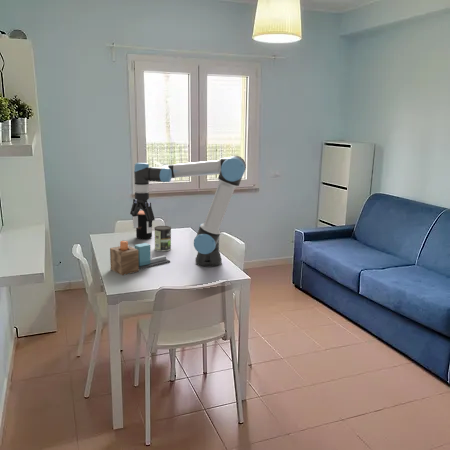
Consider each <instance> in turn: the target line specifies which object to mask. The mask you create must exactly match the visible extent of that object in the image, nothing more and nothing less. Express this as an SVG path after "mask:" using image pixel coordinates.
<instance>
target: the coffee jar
mask: <svg viewBox="0 0 450 450" xmlns="http://www.w3.org/2000/svg"><path fill="white" fill-rule="evenodd" d="M137 215H138V228H135V229H136V230H135V231H136V232H135V233H136V235H135V236H136V238H137V239H139V240H150V239H151V238H152V237H153V232H152V233H147V218H146V215H145V213H144V211H143V210H142V209H141V210H139V212H138V214H137Z"/></svg>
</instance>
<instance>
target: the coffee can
mask: <svg viewBox="0 0 450 450" xmlns="http://www.w3.org/2000/svg"><path fill="white" fill-rule="evenodd" d="M171 237H172V227H171V226H169V225H157V226H155V227H154V251H156V252H169V251H171V250H172V245H171V244H172V243H171V241H172V238H171Z"/></svg>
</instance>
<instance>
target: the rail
mask: <svg viewBox="0 0 450 450" xmlns="http://www.w3.org/2000/svg"><path fill="white" fill-rule="evenodd" d="M169 263H171V260H170V259H167V255H160V256H156V257H152V258H151V260H150V264H147V265H143V266H139V271H140V270H145V269H149V268H152V267H157V266H160V265H165V264H169Z"/></svg>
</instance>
